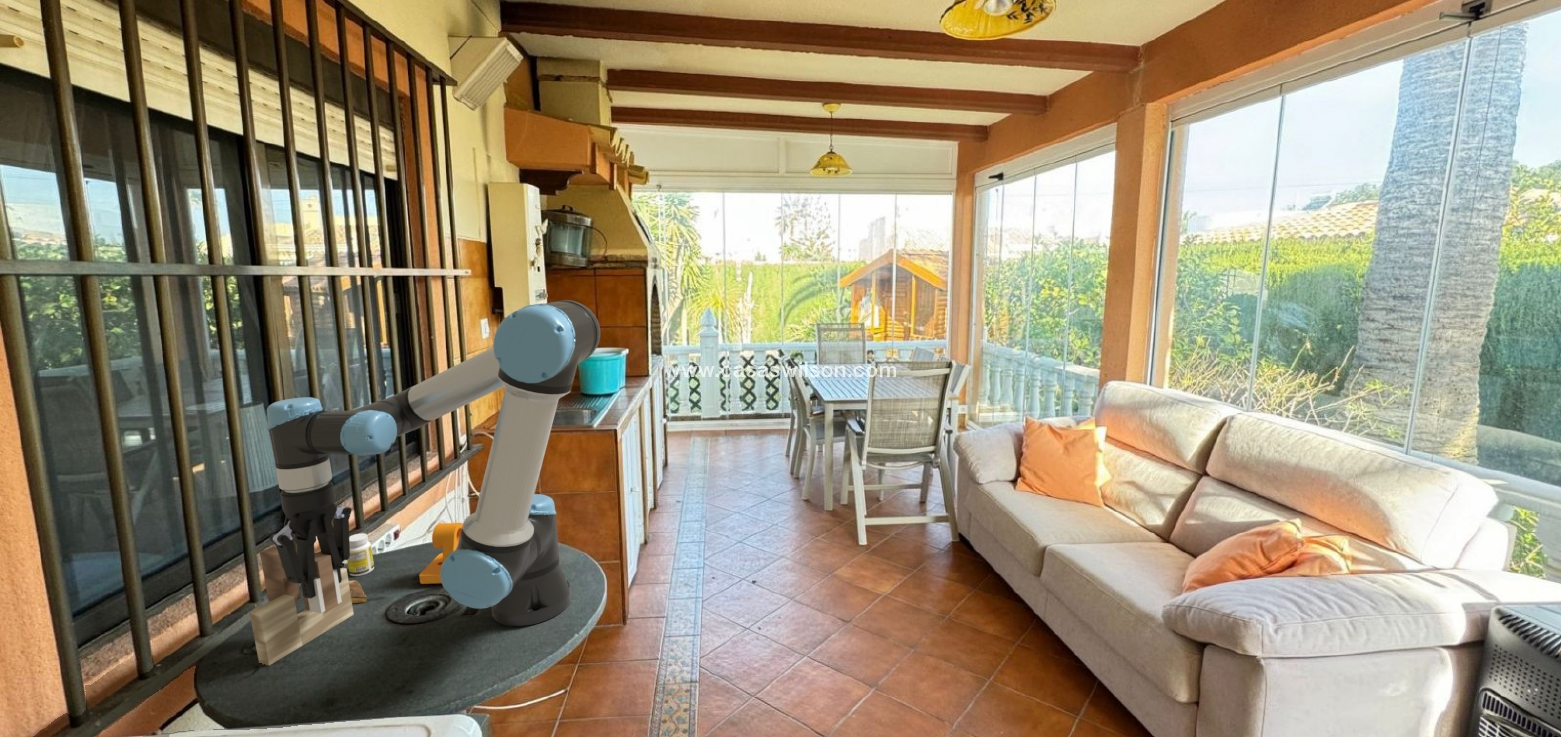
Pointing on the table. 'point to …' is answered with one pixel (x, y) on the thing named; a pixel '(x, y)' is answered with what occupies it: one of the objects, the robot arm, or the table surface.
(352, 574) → the supplement bottle
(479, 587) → the robot arm
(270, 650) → the interlocking wood puzzle
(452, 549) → the bracket
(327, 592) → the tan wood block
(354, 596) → the brown flat piece
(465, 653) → the table surface
